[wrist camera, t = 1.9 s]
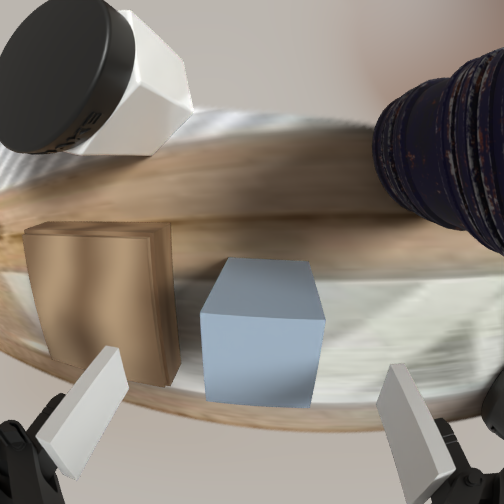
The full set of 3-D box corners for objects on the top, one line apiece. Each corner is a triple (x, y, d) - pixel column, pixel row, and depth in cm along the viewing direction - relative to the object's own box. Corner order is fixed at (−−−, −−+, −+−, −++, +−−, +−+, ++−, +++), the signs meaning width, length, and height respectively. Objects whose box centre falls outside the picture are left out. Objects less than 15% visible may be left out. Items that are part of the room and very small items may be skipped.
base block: (170, 222, 22) (150, 234, 19) (181, 363, 26) (168, 390, 22) (47, 221, 23) (19, 231, 19) (70, 341, 27) (50, 361, 23)
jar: (85, 142, 21) (-28, 143, 10) (113, 52, 19) (17, 3, 7) (178, 165, 21) (81, 173, 10) (211, 64, 19) (149, -19, 7)
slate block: (308, 261, 22) (325, 320, 14) (301, 330, 24) (309, 407, 15) (228, 257, 23) (200, 312, 14) (228, 326, 24) (206, 401, 16)
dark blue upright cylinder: (353, 102, 19) (467, 16, 4) (455, 86, 17) (589, 48, 3) (388, 231, 21) (517, 328, 7) (482, 201, 20) (617, 250, 5)
